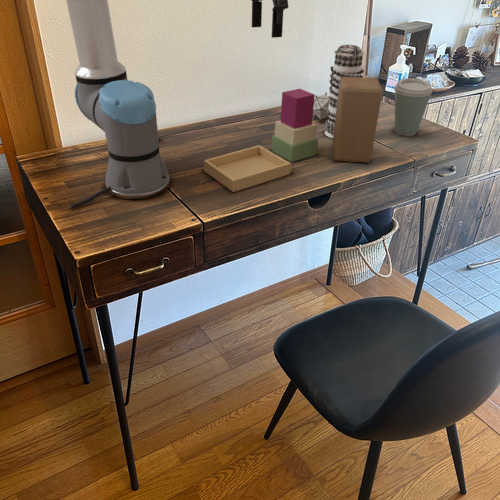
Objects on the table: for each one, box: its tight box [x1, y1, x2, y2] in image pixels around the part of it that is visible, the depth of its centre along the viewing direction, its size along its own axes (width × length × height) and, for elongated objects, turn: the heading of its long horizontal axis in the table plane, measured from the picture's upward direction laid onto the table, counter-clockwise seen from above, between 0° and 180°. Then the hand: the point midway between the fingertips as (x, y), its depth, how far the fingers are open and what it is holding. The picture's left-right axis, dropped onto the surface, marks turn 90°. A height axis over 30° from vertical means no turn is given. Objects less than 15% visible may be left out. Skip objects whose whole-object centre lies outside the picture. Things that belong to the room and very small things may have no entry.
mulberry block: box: [280, 88, 316, 129], centre depth 128 cm, size 6×6×8 cm
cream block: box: [274, 119, 318, 145], centre depth 132 cm, size 8×8×4 cm
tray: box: [203, 144, 292, 193], centre depth 124 cm, size 18×14×3 cm
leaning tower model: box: [324, 44, 365, 139], centre depth 140 cm, size 9×9×25 cm
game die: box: [313, 91, 331, 123], centre depth 154 cm, size 9×8×10 cm
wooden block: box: [331, 77, 383, 164], centre depth 129 cm, size 10×10×20 cm
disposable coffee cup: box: [393, 77, 433, 137], centre depth 145 cm, size 11×11×15 cm
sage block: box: [270, 134, 319, 163], centre depth 134 cm, size 9×9×4 cm
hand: (266, 32), depth 134 cm, fingers open, 13 cm apart
